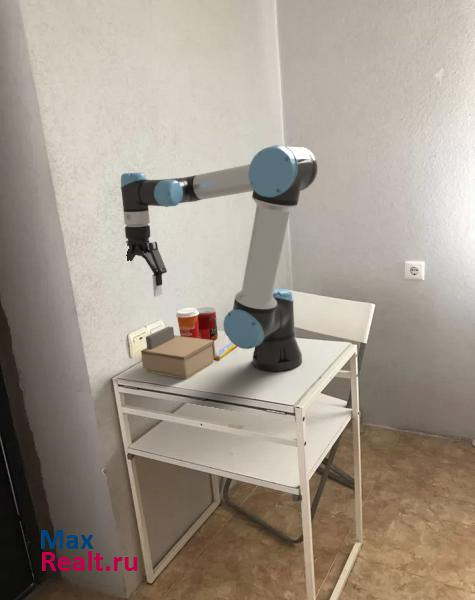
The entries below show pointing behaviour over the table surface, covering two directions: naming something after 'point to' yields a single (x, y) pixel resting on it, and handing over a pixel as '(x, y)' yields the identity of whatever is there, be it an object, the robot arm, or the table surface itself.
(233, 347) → the candy bar
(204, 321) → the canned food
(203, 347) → the box lid
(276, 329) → the robot arm
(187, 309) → the paper cup
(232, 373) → the table surface
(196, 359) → the box
